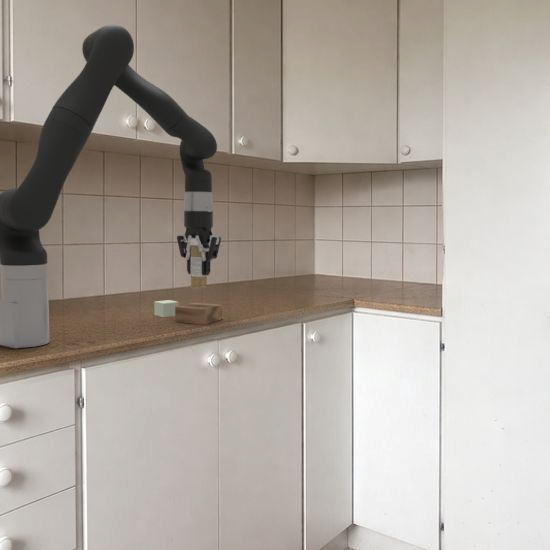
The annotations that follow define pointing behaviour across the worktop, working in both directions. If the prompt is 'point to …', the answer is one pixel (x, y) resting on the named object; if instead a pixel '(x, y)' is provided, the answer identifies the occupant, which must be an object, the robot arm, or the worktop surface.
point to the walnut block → (198, 313)
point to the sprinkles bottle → (197, 267)
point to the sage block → (165, 308)
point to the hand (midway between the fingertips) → (198, 274)
